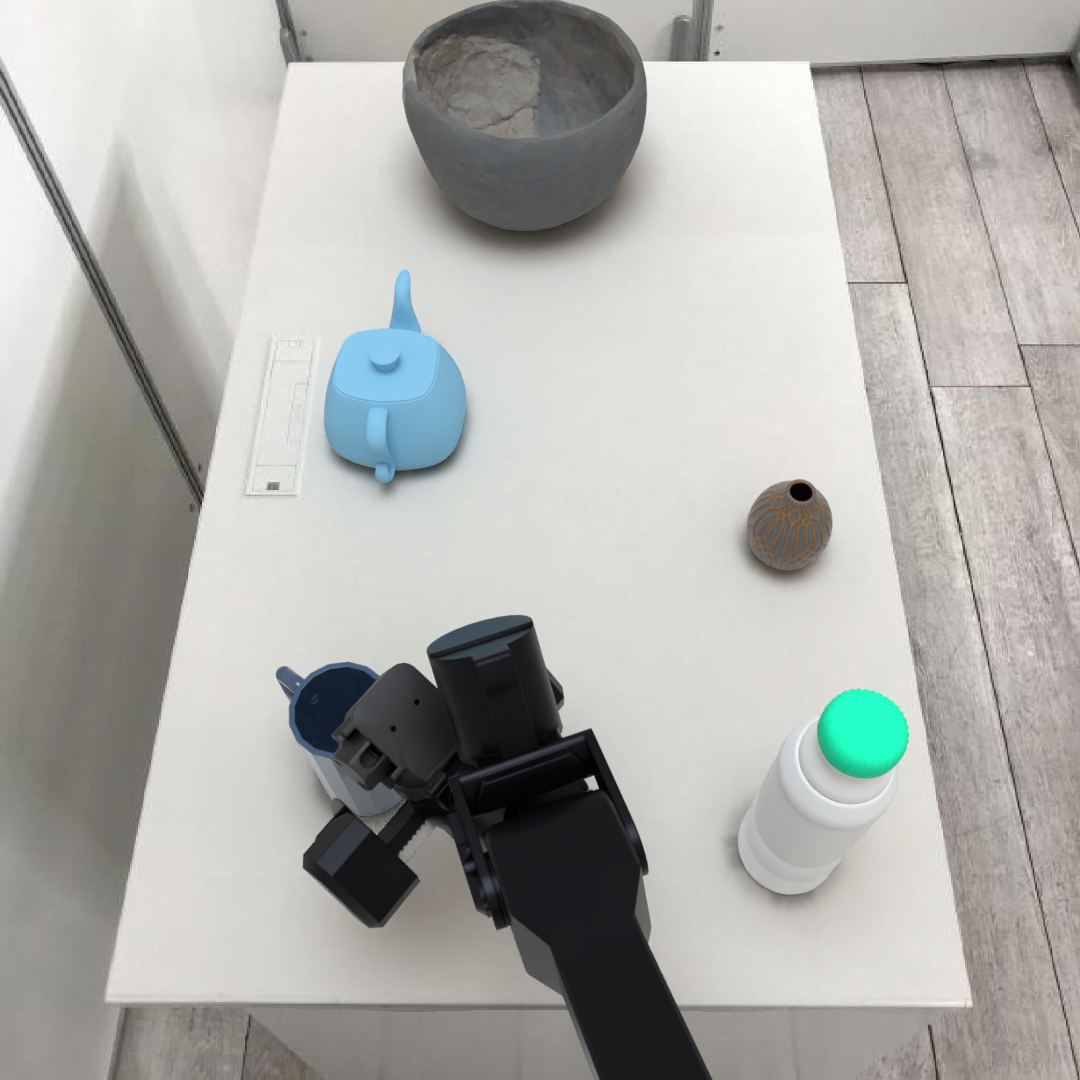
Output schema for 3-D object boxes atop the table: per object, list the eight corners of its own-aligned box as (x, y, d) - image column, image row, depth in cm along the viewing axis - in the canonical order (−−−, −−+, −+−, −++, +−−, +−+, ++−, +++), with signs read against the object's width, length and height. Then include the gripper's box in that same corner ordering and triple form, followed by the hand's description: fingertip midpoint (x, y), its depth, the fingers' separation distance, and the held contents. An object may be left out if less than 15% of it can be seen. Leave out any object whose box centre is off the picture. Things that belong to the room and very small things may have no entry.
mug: (431, 764, 82) (411, 699, 71) (372, 834, 80) (342, 778, 69) (337, 691, 86) (304, 618, 75) (277, 756, 83) (233, 690, 72)
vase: (733, 570, 91) (749, 516, 83) (749, 505, 94) (766, 447, 87) (814, 591, 90) (838, 537, 82) (827, 524, 93) (851, 466, 86)
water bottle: (822, 910, 76) (924, 806, 55) (726, 878, 78) (789, 764, 56) (840, 818, 80) (944, 685, 58) (748, 788, 81) (816, 648, 60)
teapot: (472, 268, 95) (445, 430, 86) (479, 348, 104) (456, 503, 95) (332, 260, 96) (291, 420, 86) (352, 341, 105) (316, 493, 96)
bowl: (426, 111, 123) (411, -15, 110) (639, 114, 122) (648, -12, 109) (403, 265, 110) (383, 144, 97) (640, 270, 109) (651, 148, 96)
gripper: (524, 579, 60) (401, 570, 73) (290, 843, 53) (200, 781, 66) (630, 712, 64) (496, 681, 77) (427, 973, 57) (317, 890, 70)
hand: (383, 751), depth 72 cm, fingers open, 9 cm apart
